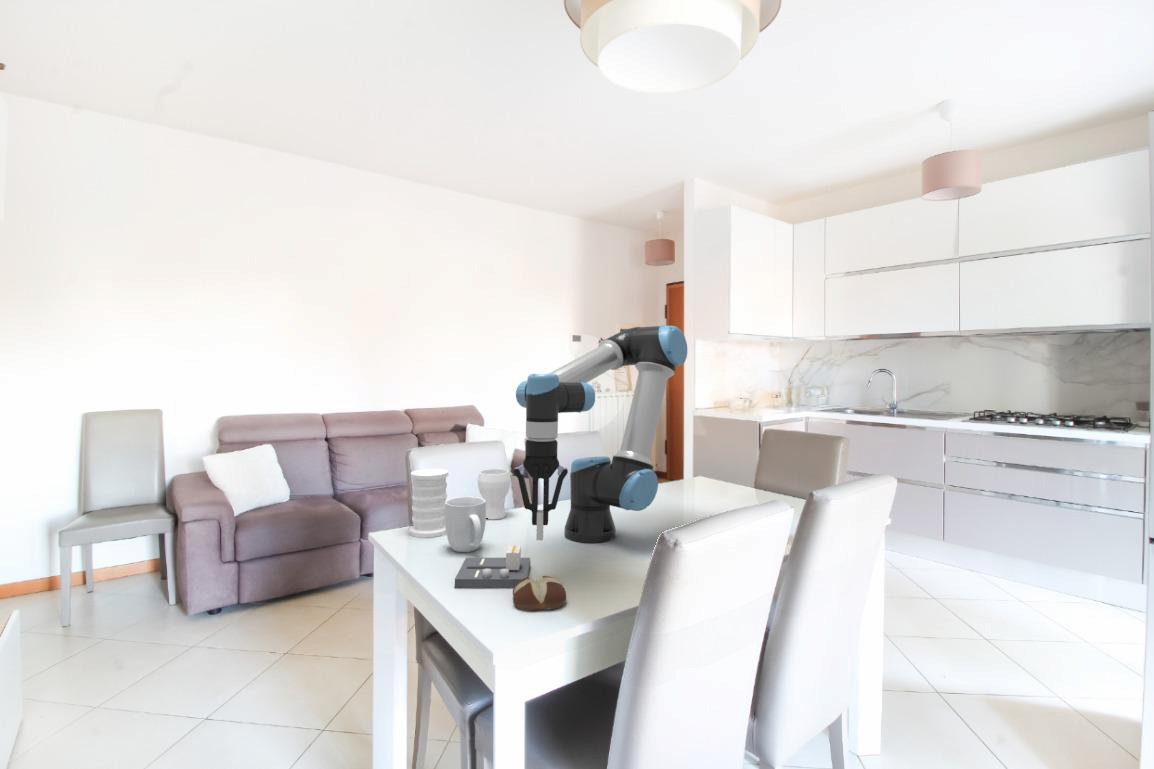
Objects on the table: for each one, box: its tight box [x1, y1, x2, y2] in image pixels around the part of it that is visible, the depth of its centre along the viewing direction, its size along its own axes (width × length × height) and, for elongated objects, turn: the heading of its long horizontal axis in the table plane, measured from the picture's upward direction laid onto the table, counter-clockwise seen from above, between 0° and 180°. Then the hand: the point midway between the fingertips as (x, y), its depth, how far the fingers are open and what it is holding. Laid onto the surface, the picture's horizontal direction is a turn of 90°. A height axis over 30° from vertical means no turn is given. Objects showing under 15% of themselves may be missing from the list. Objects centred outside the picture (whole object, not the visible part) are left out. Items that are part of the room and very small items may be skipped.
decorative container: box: [409, 468, 449, 539], centre depth 165 cm, size 12×12×18 cm
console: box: [454, 557, 531, 589], centre depth 131 cm, size 16×14×4 cm
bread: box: [512, 575, 567, 611], centre depth 118 cm, size 11×11×5 cm
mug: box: [445, 495, 487, 553], centre depth 149 cm, size 15×11×13 cm
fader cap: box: [505, 545, 522, 570], centre depth 131 cm, size 3×5×4 cm, turn 1°
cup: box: [477, 468, 511, 520], centre depth 182 cm, size 11×11×15 cm
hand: (539, 538), depth 130 cm, fingers closed
